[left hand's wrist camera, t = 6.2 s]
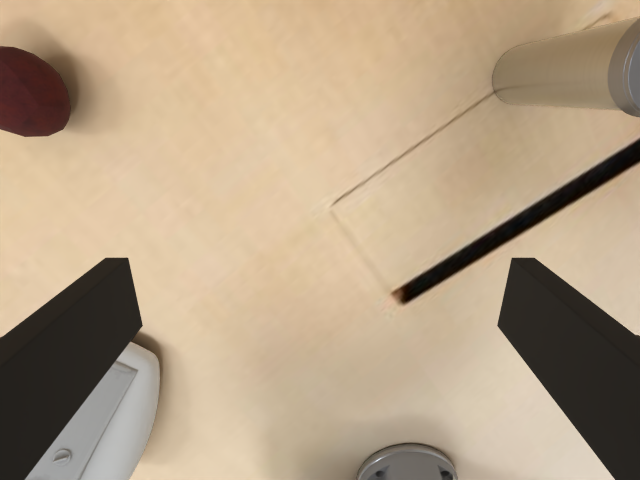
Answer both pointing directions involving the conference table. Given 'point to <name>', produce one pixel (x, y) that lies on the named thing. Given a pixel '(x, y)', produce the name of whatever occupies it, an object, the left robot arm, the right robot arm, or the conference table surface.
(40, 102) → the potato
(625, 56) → the lid
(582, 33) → the bottle
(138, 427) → the projector
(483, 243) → the conference table surface
